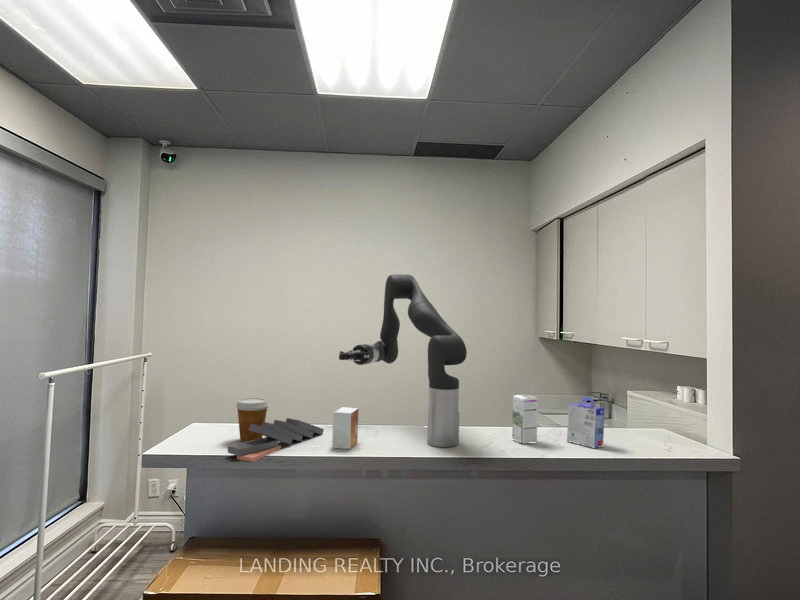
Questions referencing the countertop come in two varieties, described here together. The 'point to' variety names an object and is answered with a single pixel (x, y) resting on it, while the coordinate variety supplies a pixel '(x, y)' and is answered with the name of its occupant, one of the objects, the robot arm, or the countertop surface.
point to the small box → (345, 428)
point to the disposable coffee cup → (251, 416)
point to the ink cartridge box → (585, 423)
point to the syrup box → (524, 418)
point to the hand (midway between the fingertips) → (341, 356)
